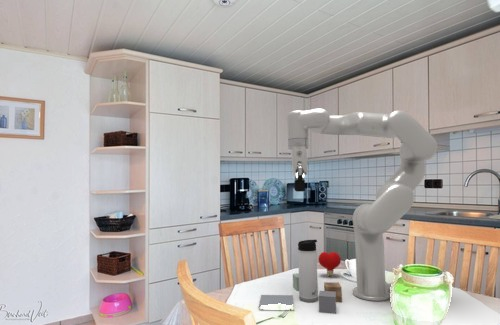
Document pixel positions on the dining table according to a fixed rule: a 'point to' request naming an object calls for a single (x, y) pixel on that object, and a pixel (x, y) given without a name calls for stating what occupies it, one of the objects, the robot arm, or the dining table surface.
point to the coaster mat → (276, 299)
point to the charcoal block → (327, 302)
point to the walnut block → (334, 289)
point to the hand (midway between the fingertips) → (299, 191)
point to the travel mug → (307, 271)
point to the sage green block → (296, 281)
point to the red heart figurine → (329, 261)
